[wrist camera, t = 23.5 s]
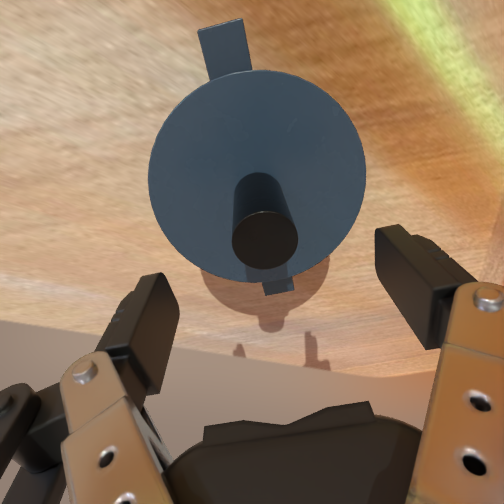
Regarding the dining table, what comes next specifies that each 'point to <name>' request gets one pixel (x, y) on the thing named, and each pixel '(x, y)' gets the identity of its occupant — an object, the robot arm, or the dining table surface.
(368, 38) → the dining table surface
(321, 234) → the lid
